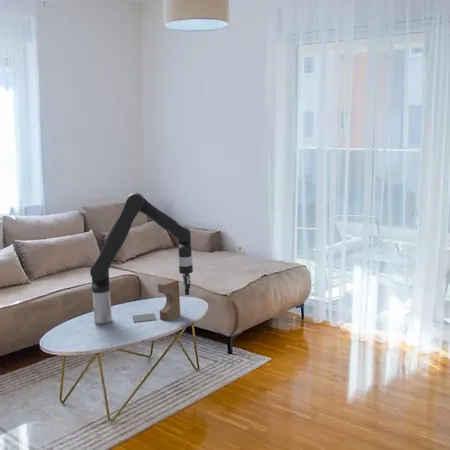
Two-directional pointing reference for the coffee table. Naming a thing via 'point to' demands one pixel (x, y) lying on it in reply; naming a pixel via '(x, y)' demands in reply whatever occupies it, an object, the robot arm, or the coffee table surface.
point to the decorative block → (170, 299)
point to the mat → (144, 317)
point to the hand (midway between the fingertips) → (187, 294)
